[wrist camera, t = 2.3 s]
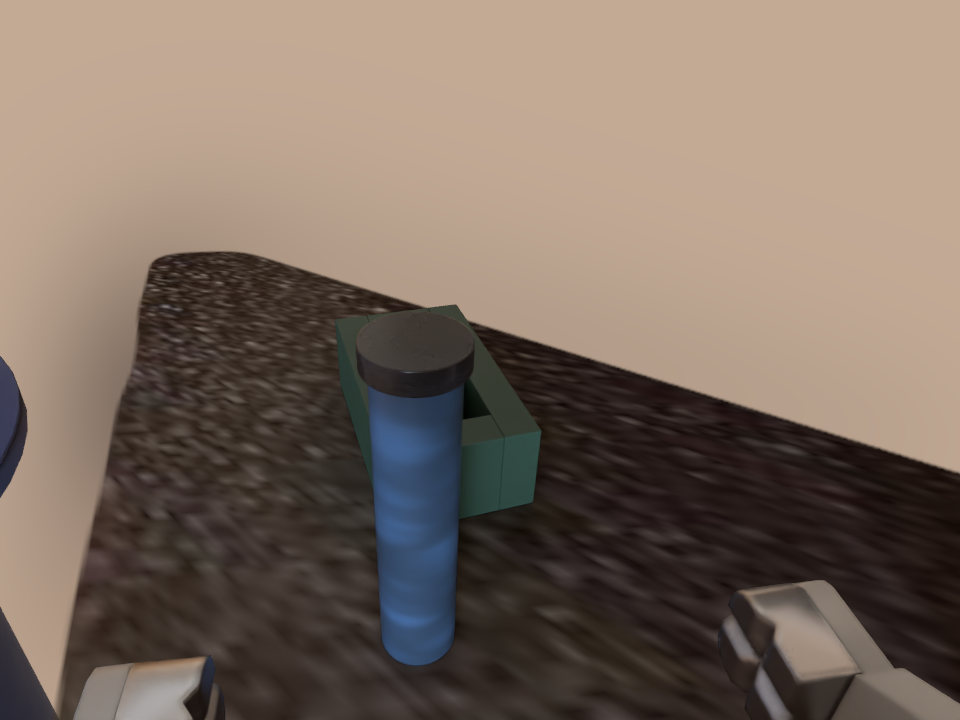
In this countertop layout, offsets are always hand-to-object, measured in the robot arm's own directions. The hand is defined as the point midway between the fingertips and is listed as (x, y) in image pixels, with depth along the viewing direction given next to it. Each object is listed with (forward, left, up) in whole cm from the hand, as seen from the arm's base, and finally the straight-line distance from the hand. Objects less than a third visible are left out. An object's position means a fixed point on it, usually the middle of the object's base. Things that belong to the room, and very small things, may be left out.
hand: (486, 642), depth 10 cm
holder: (+6, +25, -17) cm, 31 cm away
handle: (+2, +12, -17) cm, 21 cm away
